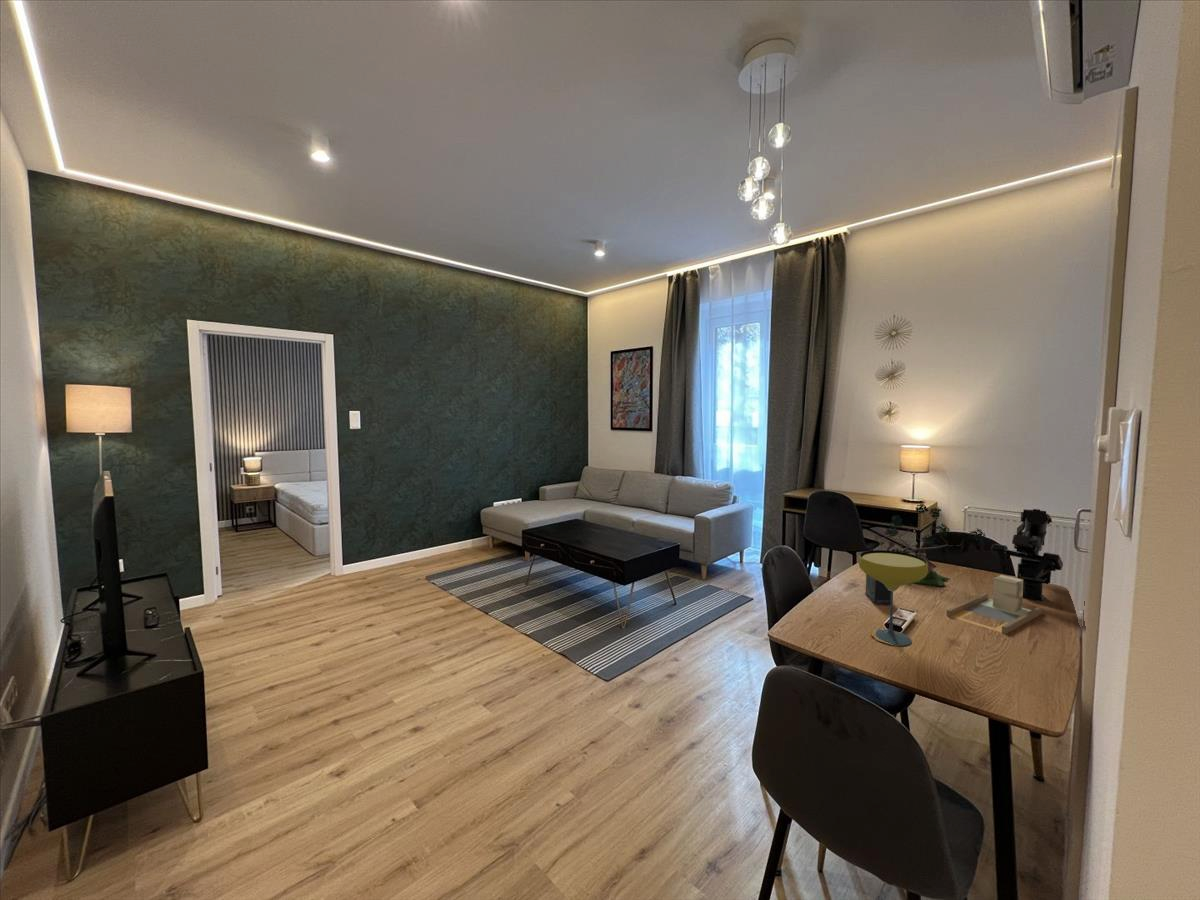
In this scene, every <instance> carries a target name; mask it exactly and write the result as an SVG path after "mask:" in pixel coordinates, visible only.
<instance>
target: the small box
mask: <svg viewBox="0 0 1200 900" xmlns="http://www.w3.org/2000/svg"><path fill="white" fill-rule="evenodd" d="M864 592H865V594H866V595H867V596H866V595H865V596H866V597H867V598H868V599H869V601H870V602H872V603H873V605H875V604H876V605H878V606H879V605H881V606H890V595H891V591H889V590H888V589H887V588H886V586H885V585H884V584H883V583H881V582H880V581H878V580H876V579H874V578H872V577H870V576H869V575H867V574H866V573H865V591H864Z"/></svg>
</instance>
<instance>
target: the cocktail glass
mask: <svg viewBox="0 0 1200 900" xmlns="http://www.w3.org/2000/svg"><path fill="white" fill-rule="evenodd" d="M921 557H922V556H918V555H916V554H913V553H903V552H897V551H896V550H895V551H891V550H889V551H887V549H886V550H883V549H882V550H881V549H877V550H876V549H874V550H873V549H872V550H866V551H865V550H864V551H862V552H860V554H859V556H858V565H859V568H860V570H861V571H862V572H863V573H865V575H866V574H867V575H869V576H870V577H872V578H874V579H876V580H878V581H880V582H881V583H883V584H884V585H885V586H886V588H887V589H888V590H889V591H891V595H890V605H889V626H888V629H885V630H879V629H877V630H878V631H876V636H877V637H878V638H879V639H881V640H883V641H885V642H888V643H891V644H893V645H899V646H898V647H906V646H905V645H907V646H910V645H911V644H912V641H913V640H912V638H910V637H909V635H906V634H904V633H902V632H900V633H899V631H896V630H894V625H893V622H894V621H893V619H894V618H893V617H894V616H893V610H894V608H893V605H894V592H896V591H897V590H898V589H899V588H900V587H902V586H905V585H910V584H915V583H914V582H917V581H920V580H921V579H923V578H925V577H926V575H927V573H928V563H927V561H926V560H925V559H923V558H921ZM895 631H896V632H895ZM909 644H910V645H909Z"/></svg>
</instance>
